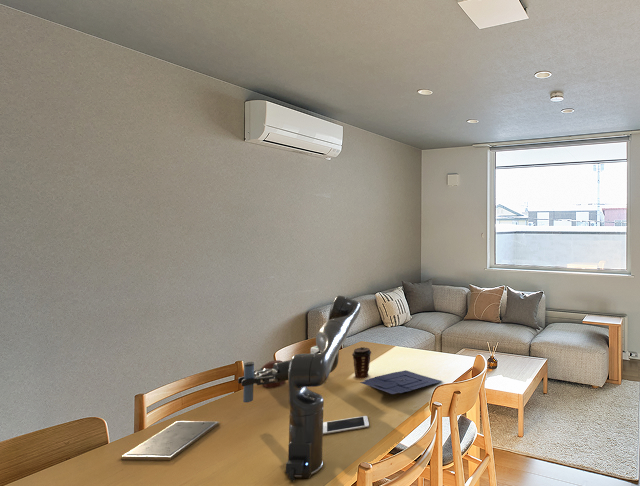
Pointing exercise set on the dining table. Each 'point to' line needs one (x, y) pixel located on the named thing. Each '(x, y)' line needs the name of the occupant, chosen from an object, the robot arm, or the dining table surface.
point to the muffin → (270, 366)
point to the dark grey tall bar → (249, 388)
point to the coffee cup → (361, 362)
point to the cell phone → (345, 424)
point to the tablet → (170, 441)
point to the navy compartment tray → (399, 382)
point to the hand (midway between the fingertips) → (240, 382)
